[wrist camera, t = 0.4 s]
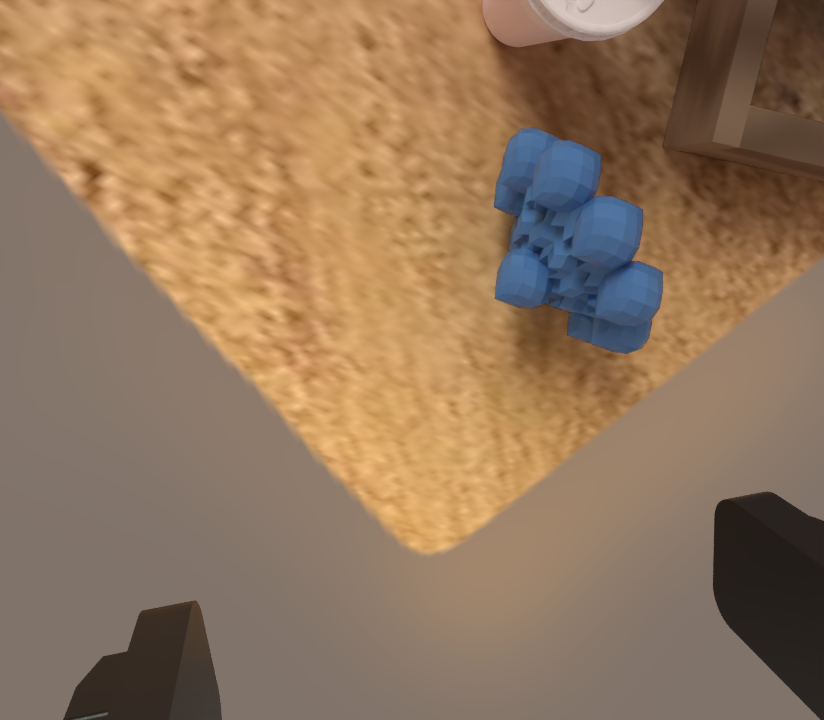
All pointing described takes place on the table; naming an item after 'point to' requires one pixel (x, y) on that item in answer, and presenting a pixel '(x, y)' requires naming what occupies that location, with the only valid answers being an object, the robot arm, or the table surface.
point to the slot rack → (737, 96)
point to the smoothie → (563, 19)
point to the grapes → (573, 244)
